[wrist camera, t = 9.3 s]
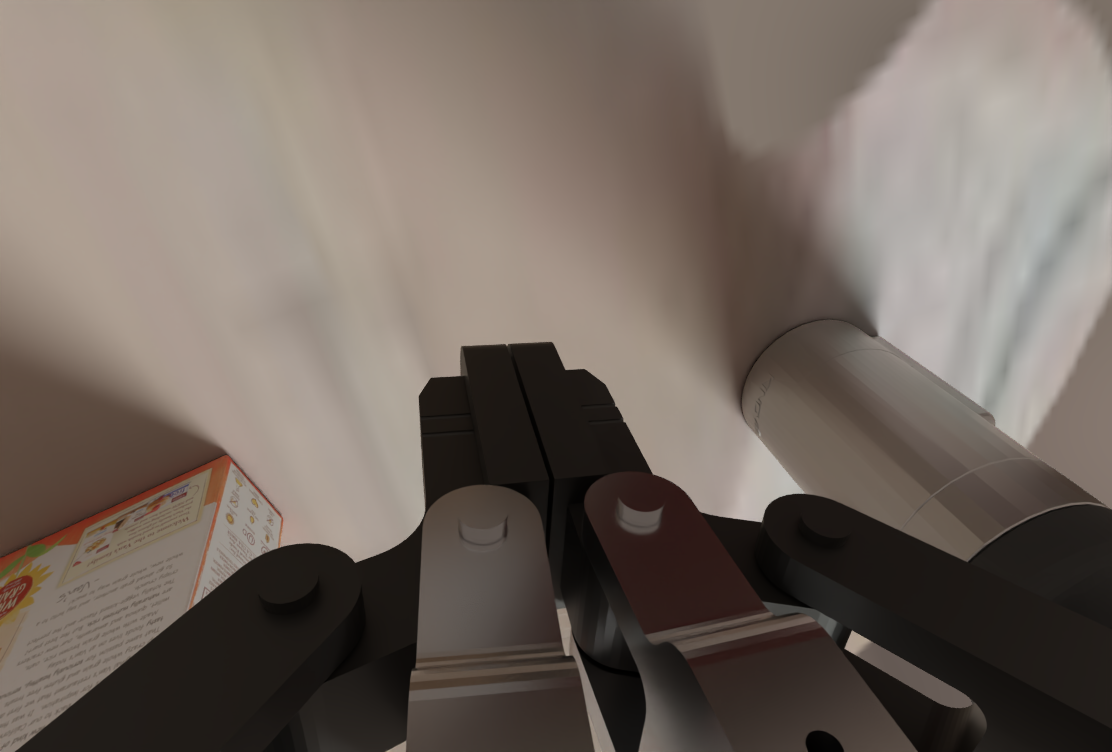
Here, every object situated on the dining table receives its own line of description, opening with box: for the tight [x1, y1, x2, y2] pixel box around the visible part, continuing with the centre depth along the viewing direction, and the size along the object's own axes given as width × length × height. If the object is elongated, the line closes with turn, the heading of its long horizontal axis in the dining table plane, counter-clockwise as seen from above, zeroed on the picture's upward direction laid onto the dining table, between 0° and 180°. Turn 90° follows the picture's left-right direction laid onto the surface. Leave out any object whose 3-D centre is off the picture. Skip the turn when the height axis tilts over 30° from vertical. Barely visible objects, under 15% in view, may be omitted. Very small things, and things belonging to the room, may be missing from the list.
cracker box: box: [0, 455, 283, 752], centre depth 29 cm, size 14×6×21 cm, turn 110°
